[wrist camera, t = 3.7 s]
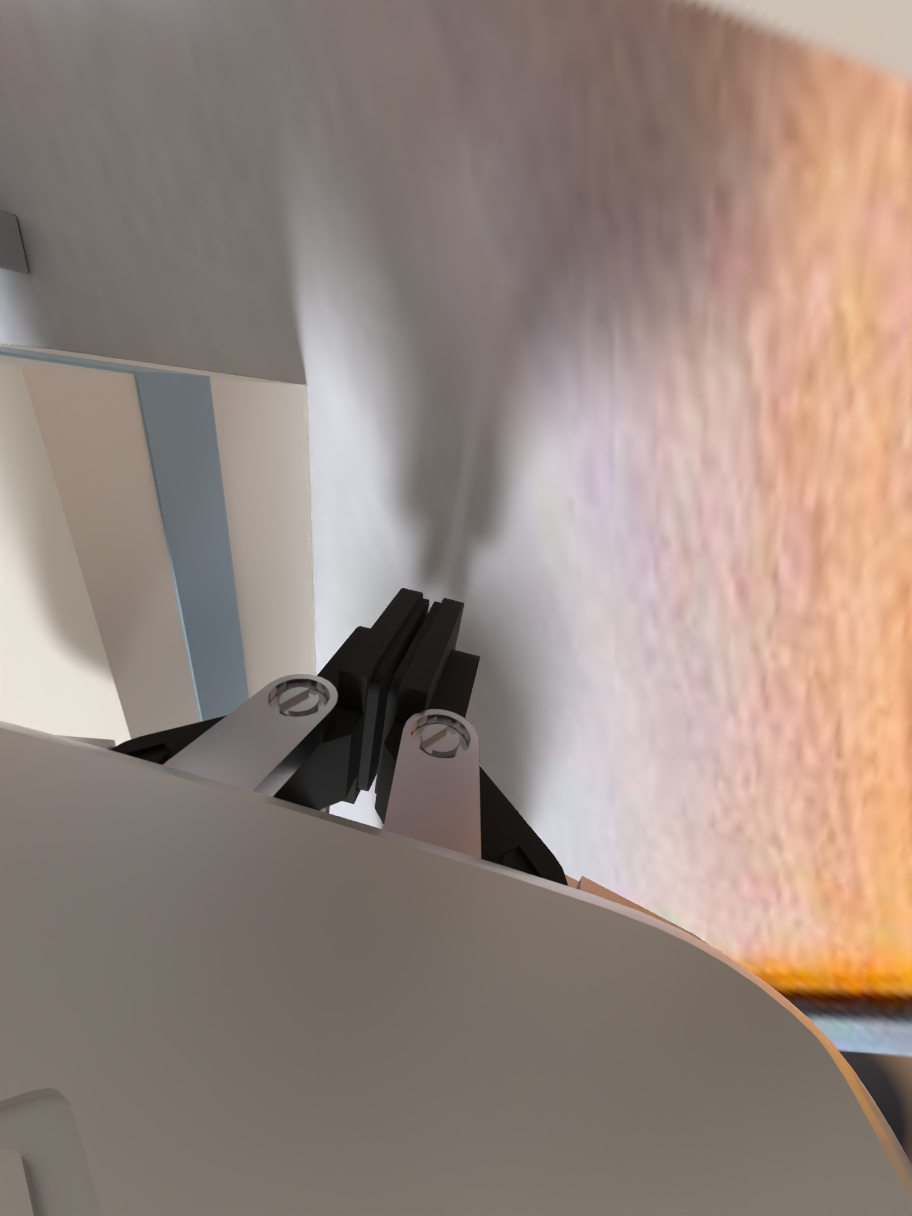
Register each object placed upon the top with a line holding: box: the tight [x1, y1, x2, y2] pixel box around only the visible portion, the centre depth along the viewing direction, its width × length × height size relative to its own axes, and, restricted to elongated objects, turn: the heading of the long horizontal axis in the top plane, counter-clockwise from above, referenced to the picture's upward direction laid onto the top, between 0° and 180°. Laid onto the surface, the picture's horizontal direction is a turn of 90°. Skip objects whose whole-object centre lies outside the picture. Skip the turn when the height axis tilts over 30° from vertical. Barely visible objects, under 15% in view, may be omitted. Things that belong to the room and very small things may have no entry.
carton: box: [0, 344, 316, 746], centre depth 11 cm, size 8×10×7 cm
